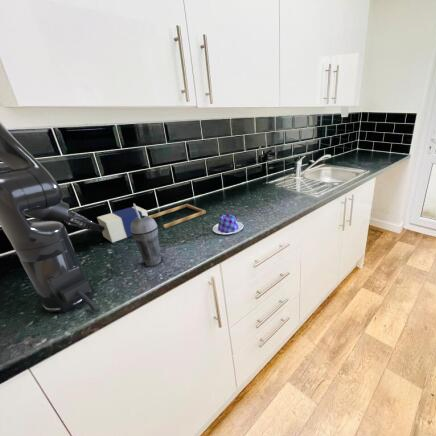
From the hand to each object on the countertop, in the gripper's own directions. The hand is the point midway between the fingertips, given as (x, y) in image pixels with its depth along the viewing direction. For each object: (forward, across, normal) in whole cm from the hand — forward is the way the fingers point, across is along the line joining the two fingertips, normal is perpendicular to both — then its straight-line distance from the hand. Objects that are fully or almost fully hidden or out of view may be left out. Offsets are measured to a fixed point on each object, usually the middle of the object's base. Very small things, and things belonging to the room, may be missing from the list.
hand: (102, 229), depth 92 cm
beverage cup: (+6, -28, +1) cm, 29 cm away
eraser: (+8, 0, -2) cm, 9 cm away
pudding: (+26, -29, -20) cm, 44 cm away
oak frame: (+23, 0, -16) cm, 28 cm away
